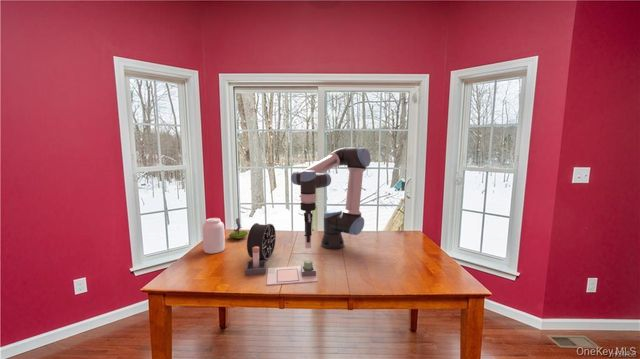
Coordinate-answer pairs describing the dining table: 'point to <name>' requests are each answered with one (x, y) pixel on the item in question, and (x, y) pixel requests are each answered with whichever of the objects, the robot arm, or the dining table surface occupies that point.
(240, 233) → the figurine
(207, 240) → the white jar
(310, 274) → the button housing
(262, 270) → the marker tray
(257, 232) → the wheel rim
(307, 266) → the button cap
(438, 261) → the dining table surface
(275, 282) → the board
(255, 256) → the marker
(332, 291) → the dining table surface
